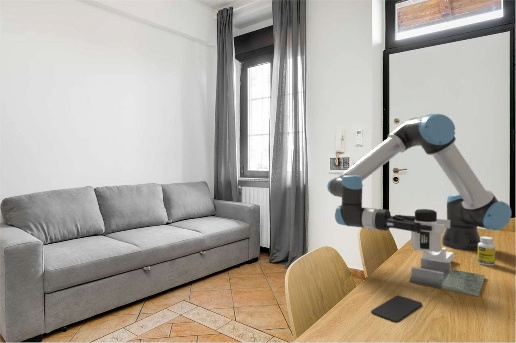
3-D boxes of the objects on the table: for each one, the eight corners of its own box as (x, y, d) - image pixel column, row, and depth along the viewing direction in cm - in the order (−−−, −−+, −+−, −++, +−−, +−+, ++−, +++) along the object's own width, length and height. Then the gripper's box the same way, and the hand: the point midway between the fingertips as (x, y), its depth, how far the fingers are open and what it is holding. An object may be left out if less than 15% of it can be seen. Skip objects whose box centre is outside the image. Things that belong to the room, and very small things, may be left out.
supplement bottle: (476, 264, 124) (476, 237, 124) (478, 260, 128) (479, 235, 128) (493, 267, 121) (494, 240, 120) (496, 263, 125) (496, 237, 124)
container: (440, 252, 107) (441, 211, 107) (414, 250, 110) (414, 211, 109) (435, 246, 115) (436, 208, 114) (411, 244, 117) (411, 207, 116)
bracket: (444, 270, 118) (444, 249, 118) (422, 266, 123) (422, 246, 123) (453, 261, 128) (453, 242, 128) (433, 258, 133) (433, 239, 132)
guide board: (423, 267, 121) (423, 256, 121) (484, 278, 110) (484, 266, 110) (409, 281, 107) (409, 269, 107) (478, 296, 96) (478, 282, 96)
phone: (369, 311, 87) (397, 294, 96) (369, 314, 87) (397, 297, 96) (396, 321, 81) (423, 303, 91) (396, 325, 81) (423, 306, 91)
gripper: (386, 224, 131) (452, 232, 117) (365, 234, 114) (440, 245, 100) (387, 205, 130) (453, 210, 116) (366, 212, 113) (440, 220, 99)
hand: (447, 226), depth 108 cm, fingers closed on container, 9 cm apart
